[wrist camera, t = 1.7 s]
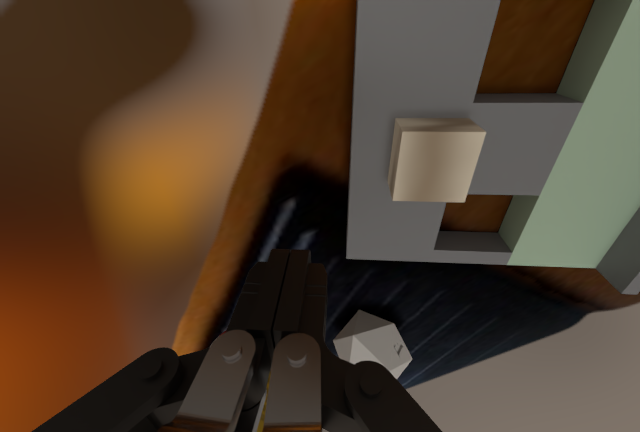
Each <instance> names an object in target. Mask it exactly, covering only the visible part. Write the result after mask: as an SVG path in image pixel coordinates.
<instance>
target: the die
mask: <svg viewBox="0 0 640 432" xmlns="http://www.w3.org/2000/svg"><path fill="white" fill-rule="evenodd" d="M333 342H334V345H335V348H336V350H337V353H338V356H339V358H340V359H343V360H345V361H348V362H350V363H352V364H356V363H358V362H360V361H374V362H377V363H379V364H381V365H383V366H384V367H386V368H387V369H388V370H389V371H390V373H391V374H392V375H393V376H394V377H395V378H396V379H397V378H398V377H399V376H400V374H401V373H402V372H403V371H404V369H405V368H406V367H407V365H408V364H409V363H410V362H411V360H412V357H411V355H410V353H409V351H408V349H407V347H406V346H405V344H404V342H403V340H402V338H401V336H400V334H399V332H398V330H397V328H396V326H395V324H394V323H392V322H389V321H387V320H384V319H382V318H379V317H377V316H374V315H372V314H369V313H366V312H364V311H361V310H358V312H357V313H356V314H355V315H354V316H353V318H352V319H351V320H350V321H349V322H348V323H347V325H346V326H345V327H344V328H343V329H342V331H341V332H340V333H339V334H338V335H337V337H336V338H335V339H334V340H333Z"/></svg>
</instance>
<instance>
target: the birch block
mask: <svg viewBox="0 0 640 432" xmlns="http://www.w3.org/2000/svg"><path fill="white" fill-rule="evenodd" d="M485 135H486V131H485V130H483V129H482V128H481V127H479V126H478V125H477V124H476V123H474V122H473V121H472V120H471V119H469V118H395V126H394V134H393V142H392V150H391V158H390V166H389V173H388V181H387V182H388V185H389V189H390V193H391V197H392V201H420V202H465V200H466V196H467V193H468V190H469V187H470V183H471V180H472V177H473V174H474V171H475V167H476V164H477V161H478V158H479V155H480V151H481V148H482V145H483V142H484V138H485Z"/></svg>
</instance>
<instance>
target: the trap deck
mask: <svg viewBox="0 0 640 432" xmlns="http://www.w3.org/2000/svg"><path fill="white" fill-rule="evenodd" d="M500 1H501V0H357V3H356V26H355V50H354V73H353V97H352V121H351V144H350V168H349V191H348V215H347V238H346V259H366V260H392V261H419V262H445V263H472V264H498V265H525V266H551V267H578V268H596V269H597V270H598V271H599V272H600V273H601V274H602V275H603V276H604V277H605V278H606V279H607V280H608V281H609V282H610V283H611V284H612V285H613V286H614V287H615V288H616V289H617V290H618V291H619V292H620V293H621V294H638V293H639V291H640V0H595V1H594V4H593V6H592V8H591V11H590V13H589V16H588V18H587V20H586V23H585V25H584V28H583V30H582V32H581V35H580V37H579V40H578V42H577V44H576V47H575V49H574V52H573V54H572V56H571V59H570V61H569V64H568V66H567V68H566V71H565V73H564V76H563V78H562V80H561V83H560V85H559V88H558V90H557V92H556V93H509V94H476V90H477V86H478V83H479V79H480V75H481V72H482V68H483V64H484V60H485V57H486V53H487V49H488V46H489V42H490V38H491V34H492V31H493V27H494V23H495V19H496V16H497V12H498V8H499V5H500ZM395 118H469V119H471V120H472V121H473V122H474V123H476V124H477V125H478V126H479V127H481V128H482V129H483V130H485V131H486V135H485V138H484V142H483V145H482V148H481V151H480V155H479V158H478V161H477V164H476V167H475V171H474V174H473V177H472V180H471V183H470V187H469V190H468V193H467V194H488V195H514V196H513V198H512V200H511V203H510V205H509V208H508V210H507V212H506V215H505V217H504V220H503V222H502V224H501V227H500V229H499V232H498V233H492V232H459V231H439V228H440V224H441V220H442V217H443V213H444V209H445V206H446V202H420V201H392V197H391V193H390V189H389V185H388V182H387V181H388V173H389V166H390V158H391V150H392V142H393V134H394V126H395Z"/></svg>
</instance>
